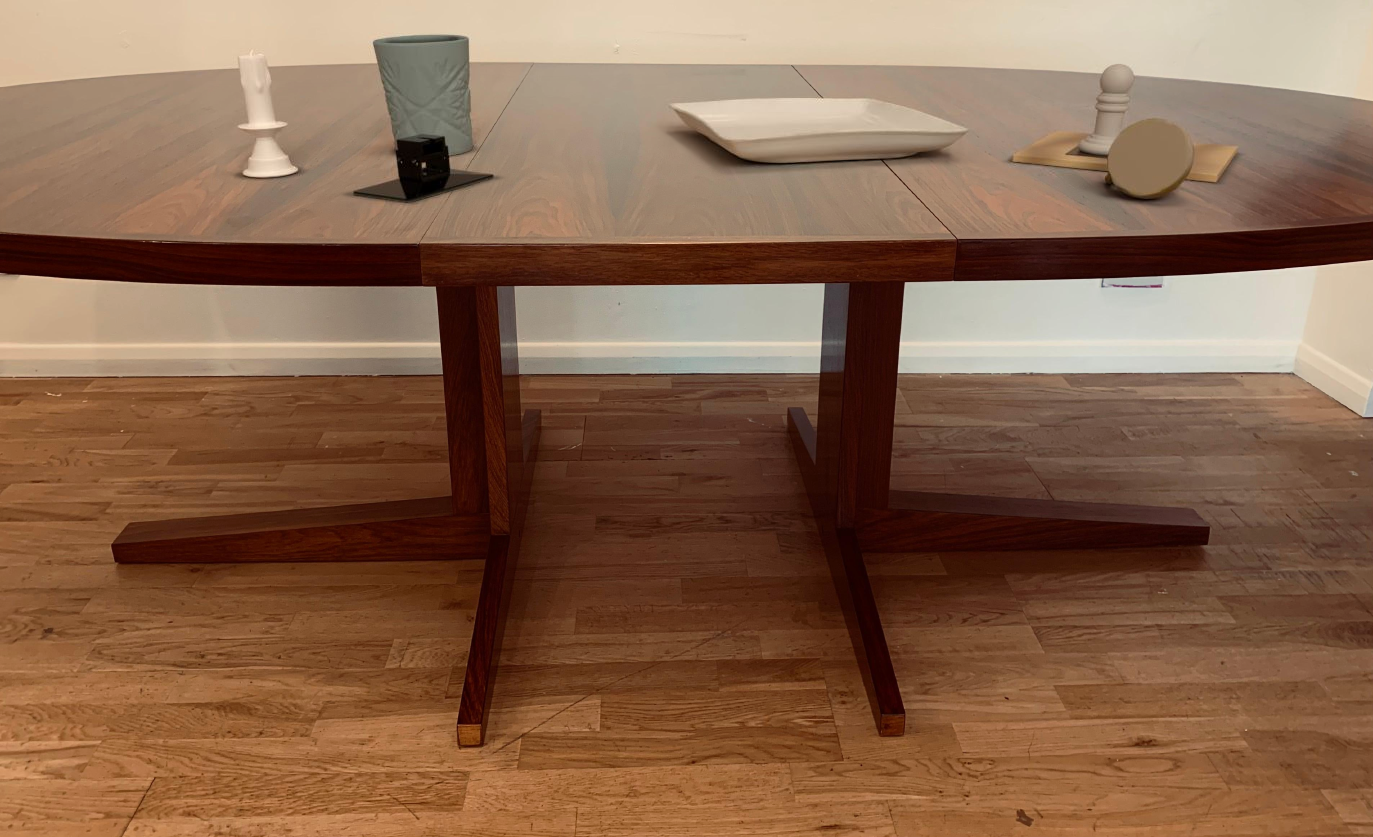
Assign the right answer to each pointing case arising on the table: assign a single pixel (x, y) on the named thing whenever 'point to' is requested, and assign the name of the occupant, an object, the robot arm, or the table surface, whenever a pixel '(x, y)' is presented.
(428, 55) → the drinking glass
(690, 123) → the square plate
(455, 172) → the motor on base plate
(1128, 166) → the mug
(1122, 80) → the chess piece
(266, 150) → the candle
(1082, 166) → the board
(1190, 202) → the table surface
